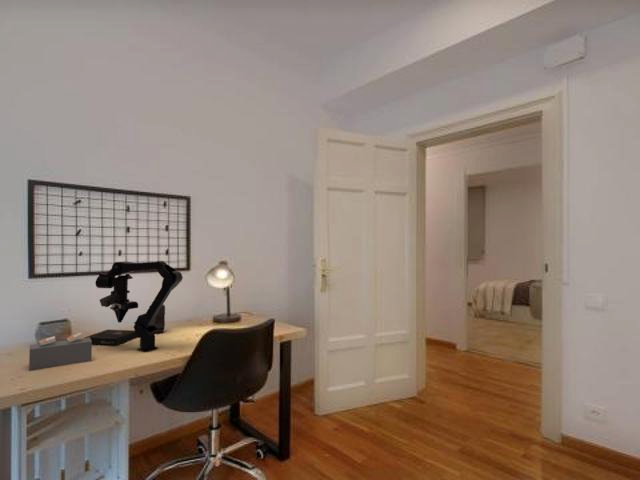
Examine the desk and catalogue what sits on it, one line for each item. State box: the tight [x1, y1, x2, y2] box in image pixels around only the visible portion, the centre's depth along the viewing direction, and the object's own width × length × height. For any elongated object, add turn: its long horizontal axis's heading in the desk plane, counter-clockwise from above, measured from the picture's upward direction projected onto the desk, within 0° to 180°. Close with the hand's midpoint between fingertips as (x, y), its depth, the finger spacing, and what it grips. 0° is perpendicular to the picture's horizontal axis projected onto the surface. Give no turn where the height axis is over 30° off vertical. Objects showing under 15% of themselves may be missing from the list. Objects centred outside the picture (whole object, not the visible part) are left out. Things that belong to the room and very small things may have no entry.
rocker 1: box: [38, 335, 57, 346], centre depth 143 cm, size 5×4×1 cm
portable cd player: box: [83, 329, 138, 347], centre depth 179 cm, size 16×17×4 cm
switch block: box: [28, 337, 93, 372], centre depth 145 cm, size 20×8×8 cm, turn 128°
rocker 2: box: [66, 332, 84, 343], centre depth 148 cm, size 5×4×1 cm
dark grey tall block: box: [148, 304, 166, 335], centre depth 196 cm, size 8×8×15 cm
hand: (119, 322), depth 166 cm, fingers closed
